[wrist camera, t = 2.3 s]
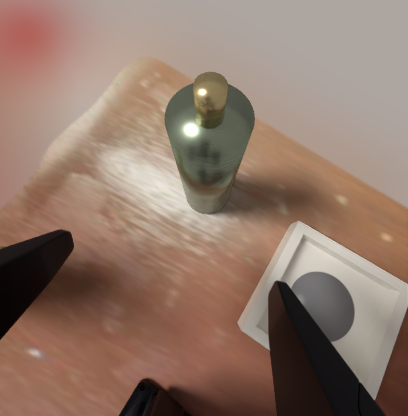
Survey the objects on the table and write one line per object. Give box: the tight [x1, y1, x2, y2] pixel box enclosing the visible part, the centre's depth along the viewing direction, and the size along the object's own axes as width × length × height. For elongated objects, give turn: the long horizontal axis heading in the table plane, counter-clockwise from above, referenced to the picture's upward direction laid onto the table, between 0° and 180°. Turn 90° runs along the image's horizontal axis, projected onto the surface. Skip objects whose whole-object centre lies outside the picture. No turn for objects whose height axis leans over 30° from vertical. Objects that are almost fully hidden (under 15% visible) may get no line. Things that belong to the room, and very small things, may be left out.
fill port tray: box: [237, 221, 408, 400], centre depth 19 cm, size 12×12×2 cm
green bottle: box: [165, 72, 255, 214], centre depth 16 cm, size 5×5×15 cm
